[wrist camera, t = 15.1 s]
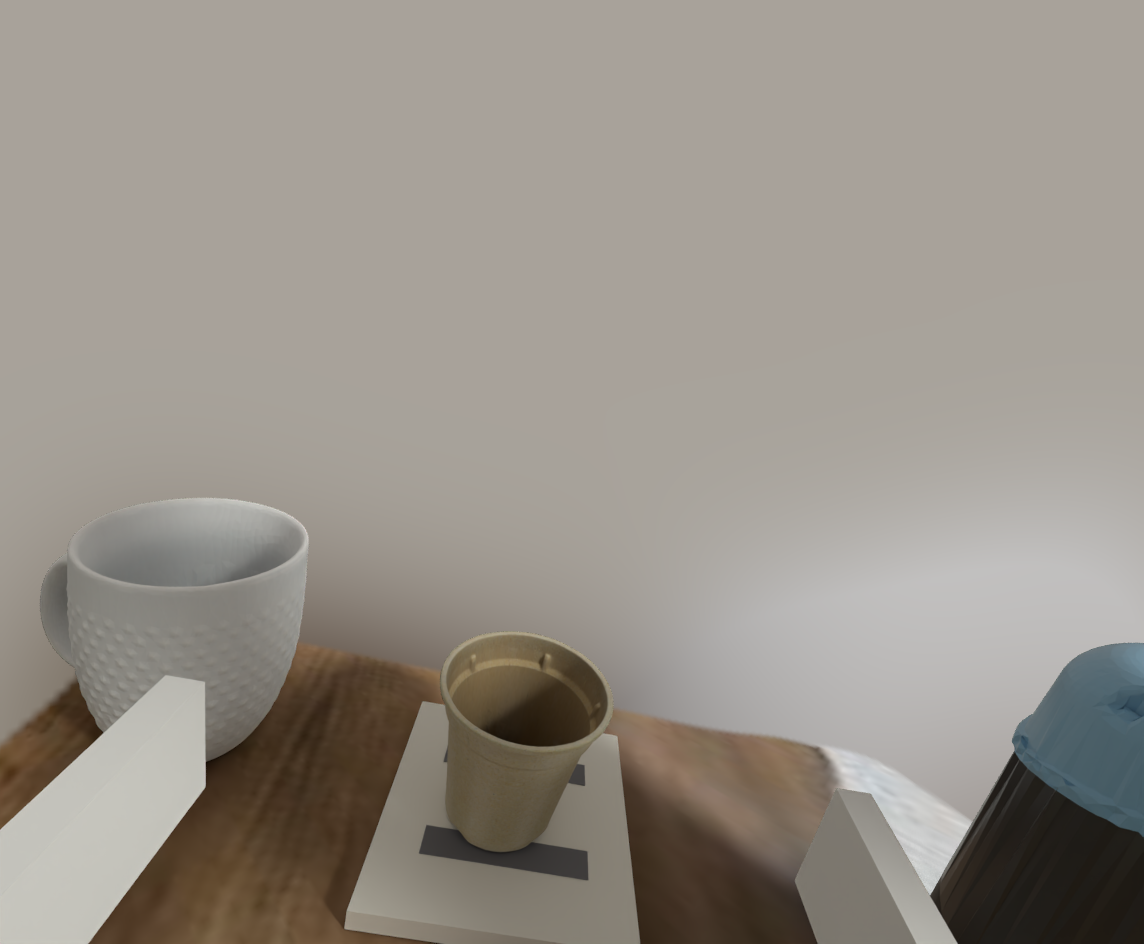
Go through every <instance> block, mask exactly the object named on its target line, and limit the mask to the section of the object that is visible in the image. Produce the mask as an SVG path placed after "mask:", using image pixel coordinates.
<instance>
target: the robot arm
mask: <svg viewBox="0 0 1144 944" xmlns="http://www.w3.org/2000/svg"><path fill="white" fill-rule="evenodd" d="M1012 743H1013V744H1014V747H1015V751H1014V752H1013V754H1012V756H1011V757H1010V759H1009V761H1008V762H1007V764H1006V766H1005V768H1004V770H1003V771H1002V773H1001V774H1000V776H999V778H998V780H997V781H996V783H995V785H994V786H993V788H992V790H991V792H990V793H989V795H988V797H987V798H986V800H985V802H984V803H983V805H982V807H981V809H980V810H979V812H978V814H977V815H976V817H975V819H974V820H973V822H972V824H971V826H970V827H969V829H968V831H967V832H966V834H965V836H964V838H963V839H962V841H961V843H960V844H959V846H958V848H957V849H956V851H955V853H954V855H953V856H952V858H951V860H950V861H949V863H948V865H947V867H946V868H945V870H944V872H943V874H942V876H941V878H940V879H939V881H938V883H937V885H936V886H935V888H934V890H933V892H932V893H931V895H929V893H928V892H927V890H926V888H925V886H924V885H923V883H922V881H921V880H920V878H919V876H918V874H917V873H916V871H915V869H914V867H913V866H912V864H911V862H910V861H909V859H908V857H907V855H906V854H905V852H904V850H903V848H902V847H901V845H900V843H899V842H898V840H897V838H896V836H895V835H894V833H893V831H892V829H891V828H890V826H889V824H888V823H887V821H886V819H885V817H884V816H883V814H882V812H881V810H880V809H879V807H878V805H877V804H876V802H875V800H874V798H873V797H872V795H871V794H869V793H863V792H857V791H851V790H845V789H839V788H836V790H835V792H834V794H833V796H832V799H831V801H830V803H829V805H828V807H827V810H826V812H825V814H824V816H823V819H822V821H821V823H820V825H819V827H818V830H817V832H816V834H815V836H814V839H813V841H812V843H811V845H810V847H809V850H808V852H807V854H806V856H805V859H804V861H803V863H802V865H801V867H800V870H799V872H798V874H797V876H796V879H795V883H796V886H797V888H798V891H799V894H800V897H801V899H802V902H803V905H804V908H805V910H806V913H807V916H808V918H809V921H810V924H811V927H812V929H813V932H814V935H815V938H816V940H817V943H818V944H1144V643H1119V644H1111V645H1105V646H1101V647H1097V648H1094V649H1091V650H1089V651H1087V652H1084V653H1082V654H1080V655H1078V656H1077V657H1076V658H1074V659H1073V660H1072V661H1071V662H1069V663H1068V664H1067V666H1066V667H1065V668H1064V669H1063V670H1062V672H1061V673H1060V675H1059V676H1058V678H1057V679H1056V681H1055V682H1054V684H1053V685H1052V687H1051V688H1050V690H1049V691H1048V693H1047V694H1046V696H1045V697H1044V698H1043V700H1042V702H1041V703H1040V705H1039V706H1038V708H1037V709H1036V710H1035V712H1034V713H1033V714H1031V715H1030V716H1028V717H1027V718H1025V719H1024V720H1022V722H1020V723H1019V725H1018V726H1017V729H1016V730H1015V733H1014V736H1013V738H1012ZM205 787H206V760H205V682H203V681H197V680H191V679H185V678H180V677H174V676H168V675H165V676H164V677H163V678H162V679H161V680H160V681H159V682H158V683H157V684H156V685H155V686H154V687H153V688H152V689H150V690H149V691H148V692H147V693H146V694H145V695H144V696H143V697H142V698H141V699H140V700H139V701H138V702H137V703H135V704H134V705H133V706H132V707H131V708H130V709H129V710H128V711H127V712H126V713H125V714H124V715H123V716H122V717H120V718H119V719H118V720H117V721H116V722H115V723H114V724H113V725H112V726H111V727H110V728H109V729H108V730H107V731H105V732H104V733H103V734H102V735H101V736H100V737H99V738H98V739H97V740H96V741H95V742H94V743H93V744H92V745H91V746H89V747H88V748H87V749H86V750H85V751H84V752H83V753H82V754H81V755H80V756H79V757H78V758H77V759H76V760H74V761H73V762H72V763H71V764H70V765H69V766H68V767H67V768H66V769H65V770H64V771H63V772H62V773H61V774H59V775H58V776H57V777H56V778H55V779H54V780H53V781H52V782H51V783H50V784H49V785H48V786H47V787H46V788H45V789H43V790H42V791H41V792H40V793H39V794H38V795H37V796H36V797H35V798H34V799H33V800H32V801H31V802H30V803H28V804H27V805H26V806H25V807H24V808H23V809H22V810H21V811H20V812H19V813H18V814H17V815H16V816H15V817H13V818H12V819H11V820H10V821H9V822H8V823H7V824H6V825H5V826H4V827H3V828H2V829H1V830H0V944H88V943H89V942H90V941H91V939H92V938H93V937H94V935H95V934H96V933H97V931H98V930H99V929H100V927H101V926H102V925H103V923H104V922H105V921H106V919H107V918H108V917H109V915H110V914H111V913H112V911H113V910H114V909H115V907H116V906H117V905H118V903H119V902H120V901H121V899H122V898H123V897H124V895H125V894H126V893H127V891H128V890H129V889H130V887H131V886H132V885H133V883H134V882H135V881H136V879H137V878H138V877H139V875H140V874H141V873H142V871H143V870H144V869H145V867H146V866H147V865H148V863H149V862H150V861H151V859H152V858H153V857H154V855H155V854H156V852H157V851H158V850H159V848H160V847H161V846H162V844H163V843H164V842H165V840H166V839H167V838H168V836H169V835H170V834H171V832H172V831H173V830H174V828H175V827H176V826H177V824H178V823H179V822H180V820H181V819H182V818H183V816H184V815H185V814H186V812H187V811H188V810H189V808H190V807H191V806H192V804H193V803H194V802H195V800H196V799H197V798H198V796H199V795H200V794H201V792H202V791H203V790H204V788H205Z"/></svg>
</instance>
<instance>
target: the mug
mask: <svg viewBox="0 0 1144 944" xmlns="http://www.w3.org/2000/svg"><path fill="white" fill-rule="evenodd" d="M308 548H309V538H308V534H307V531H306V529H305V528H304V526H303V525H302V524H301V523H300V522H299V521H297V520H296V519H295V518H293V517H292V516H290V515H288V514H286V513H284V512H282V511H280V510H278V509H275V508H271V507H268V506H265V505H261V504H257V503H253V502H248V501H241V500H233V499H222V498H185V499H171V500H162V501H154V502H148V503H143V504H138V505H134V506H129V507H126V508H122V509H119V510H116V511H113V512H111V513H108V514H105V515H103V516H101V517H98V518H96V519H95V520H93V521H91V522H89V523H87V524H86V525H84V526H83V527H82V528H81V529H79V530H78V531H77V532H76V533H75V534H74V535H73V537H72V538H71V540H70V542H69V545H68V549H67V553H66V554H65V555H63V556H61V557H60V558H59V559H57V560H56V561H55V562H54V563H53V564H52V566H51V567H50V568H49V570H48V572H47V574H46V576H45V578H44V581H43V584H42V589H41V596H40V612H41V619H42V623H43V628H44V630H45V633H46V636H47V638H48V640H49V642H50V644H51V645H52V647H53V648H54V650H55V651H56V652H57V653H58V654H59V655H60V656H61V657H62V658H63V659H64V660H65V661H66V662H67V663H68V664H70V665H71V666H73V667H74V668H75V669H76V671H75V674H76V677H77V680H78V682H79V684H80V690H81V694H82V696H83V697H84V698H85V700H86V703H87V706H88V710H89V711H90V712H91V714H92V715H93V716H94V718H95V721H96V725H97V726H98V728H100V729H101V730H102V731H103V733H104V732H105V731H107V730H108V729H109V728H110V727H111V726H112V725H113V724H114V723H115V722H116V721H117V720H118V719H119V718H120V717H122V716H123V715H124V714H125V713H126V712H127V711H128V710H129V709H130V708H131V707H132V706H133V705H134V704H135V703H137V702H138V701H139V700H140V699H141V698H142V697H143V696H144V695H145V694H146V693H147V692H148V691H149V690H150V689H152V688H153V687H154V686H155V685H156V684H157V683H158V682H159V681H160V680H161V679H162V678H163V677H164V676H165V675H168V676H174V677H180V678H185V679H191V680H197V681H203V682H205V760H206V762H207V761H210V760H212V759H215V758H217V757H219V756H221V755H223V754H225V753H226V752H228V751H230V750H231V749H233V748H234V747H236V746H237V745H239V744H240V743H241V742H242V741H244V740H245V739H246V738H247V737H248V736H249V735H250V734H251V733H252V732H253V731H254V730H255V728H256V727H257V726H258V725H259V724H260V723H261V721H262V720H263V719H264V717H265V716H266V714H267V713H268V712H269V711H270V710H271V708H272V705H273V703H274V701H275V700H276V699H277V697H278V695H279V692H280V689H281V687H282V686H283V685H284V682H285V679H286V675H287V673H288V671H289V669H290V668H291V663H292V659H293V657H294V655H295V651H296V644H297V642H298V637H299V635H300V632H299V631H300V624H301V621H302V619H301V618H302V616H303V615H302V610H303V604H304V598H305V595H304V591H305V586H306V572H307V557H308Z"/></svg>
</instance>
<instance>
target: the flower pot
mask: <svg viewBox="0 0 1144 944" xmlns="http://www.w3.org/2000/svg"><path fill="white" fill-rule="evenodd" d="M440 690H441V695H442V699H443V701H444V703H445V709H446V715H447V718H448V721H449V730H448V758H447V782H446V795H445V805H446V811H447V815H448V818H449V820H450V822H451V823H453V824H454V825H455V826H456V828H457V829H458V830H459V831H460V832H461V834H462V835H463V836H464V838H465V839H466V840H467V841H468V842H469V843H471V844H473V845H474V846H477V847H479V848H482V849H484V850H489V851H494V852H509V851H515V850H519V849H522V848H524V847H526V846H527V845H528V844H530V843H531V842H532V841H533V840H535V839H536V838H538V837H539V836H540V835H541V834H542V833H543V832H544V831H545V830H546V828H547V826H548V824H549V822H550V819H551V817H552V815H553V813H554V811H555V809H556V806H557V804H558V802H559V800H560V798H561V796H562V794H563V792H564V790H565V788H566V786H567V784H568V782H569V780H570V778H571V775H572V773H573V771H574V769H575V767H576V765H577V763H578V761H579V759H580V757H581V755H582V754H583V753H585V751H586V750H587V749H588V748H589V747H590V746H591V744H592V743H593V742H594V741H595V740H597V739H598V738H599V737H600V736H601V734H602V733H603V732H604V731H605V729H606V728H607V726H608V724H609V722H610V719H611V716H612V713H613V702H614V701H613V696H612V691H611V690H610V687H609V684H608V683H607V681H606V679H605V677H604V676H603V674H602V673H601V671H600V670H599V669H598V668H597V667H596V666H595V665H594V664H593V663H592V662H591V661H590V660H589V659H588V658H586V657H585V656H584V655H583V654H581V653H580V652H578V651H576V650H575V649H573V648H571V647H569V646H568V645H566V644H564V643H561V642H560V641H557V640H554V639H552V638H548V637H546V636H542V635H539V634H533V633H528V632H527V633H525V632H514V631H505V632H504V631H503V632H496V633H487V634H483V635H479V636H476V637H474V638H471V639H468V640H467V641H465V642H463V643H462V644H460V645H459V646H457V647H456V648H455V649H454V650H453V651H452V652H451V653H450V654H449V656H448V657H447V659H446V660H445V662H444V665H443V667H442V670H441V675H440Z"/></svg>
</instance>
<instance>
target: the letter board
mask: <svg viewBox="0 0 1144 944" xmlns="http://www.w3.org/2000/svg"><path fill="white" fill-rule="evenodd" d="M448 730H449V721H448V718H447V715H446V709H445V705H442V704H436V703H431V702H425V701H423V702H422V704H421V707H420V710H419V713H418V715H417V718H416V721H415V724H414V726H413V729H412V732H411V735H410V738H409V740H408V743H407V746H406V749H405V751H404V754H403V757H402V760H401V762H400V765H399V768H398V771H397V773H396V776H395V779H394V782H393V784H392V787H391V790H390V793H389V796H388V798H387V801H386V804H385V807H384V809H383V812H382V815H381V818H380V820H379V823H378V826H377V829H376V831H375V834H374V837H373V840H372V843H371V845H370V848H369V851H368V854H367V856H366V859H365V862H364V865H363V867H362V870H361V873H360V876H359V878H358V881H357V884H356V887H355V889H354V892H353V895H352V898H351V901H350V903H349V906H348V909H347V913H346V920H345V926H344V929H347V930H354V931H360V932H367V933H374V934H380V935H387V936H394V937H401V938H407V939H414V940H421V941H428V942H434V943H441V944H640V937H639V928H638V919H637V910H636V901H635V892H634V883H633V874H632V865H631V856H630V847H629V838H628V829H627V820H626V811H625V802H624V793H623V784H622V775H621V766H620V757H619V748H618V739H617V736H615V735H609V734H604V733H602V734H601V736H600V737H599V738H598V739H597V740H595V741H594V742H593V743H592V744H591V746H590V747H589V748H588V749H587V750H586V751H585V753H583V754H582V755H581V757H580V759H579V761H578V763H577V765H576V767H575V769H574V771H573V773H572V775H571V778H570V780H569V782H568V784H567V786H566V788H565V790H564V792H563V794H562V796H561V798H560V800H559V802H558V804H557V806H556V809H555V811H554V813H553V815H552V817H551V819H550V822H549V824H548V826H547V828H546V830H545V831H544V832H543V833H542V834H541V835H540V836H539V837H538V838H536V839H535V840H533V841H532V842H531V843H530V844H528V845H527V846H526V847H524V848H522V849H519V850H515V851H509V852H494V851H489V850H484V849H482V848H479V847H477V846H474V845H473V844H471V843H469V842H468V841H467V840H466V839H465V838H464V836H463V835H462V834H461V832H460V831H459V830H458V829H457V828H456V826H455V825H454V824H453V823H451V822H450V820H449V818H448V815H447V811H446V805H445V795H446V782H447V758H448Z"/></svg>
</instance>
